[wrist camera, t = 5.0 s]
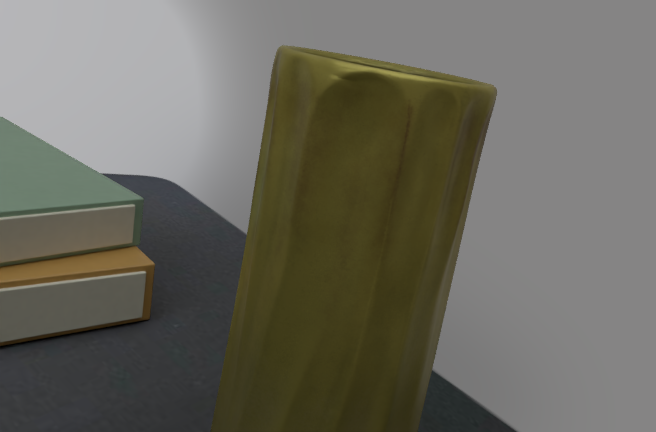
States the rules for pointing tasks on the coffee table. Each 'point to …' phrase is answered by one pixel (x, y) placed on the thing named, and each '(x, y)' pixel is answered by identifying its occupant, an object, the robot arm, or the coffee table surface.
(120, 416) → the coffee table surface
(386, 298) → the vase
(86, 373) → the coffee table surface
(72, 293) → the book stack
